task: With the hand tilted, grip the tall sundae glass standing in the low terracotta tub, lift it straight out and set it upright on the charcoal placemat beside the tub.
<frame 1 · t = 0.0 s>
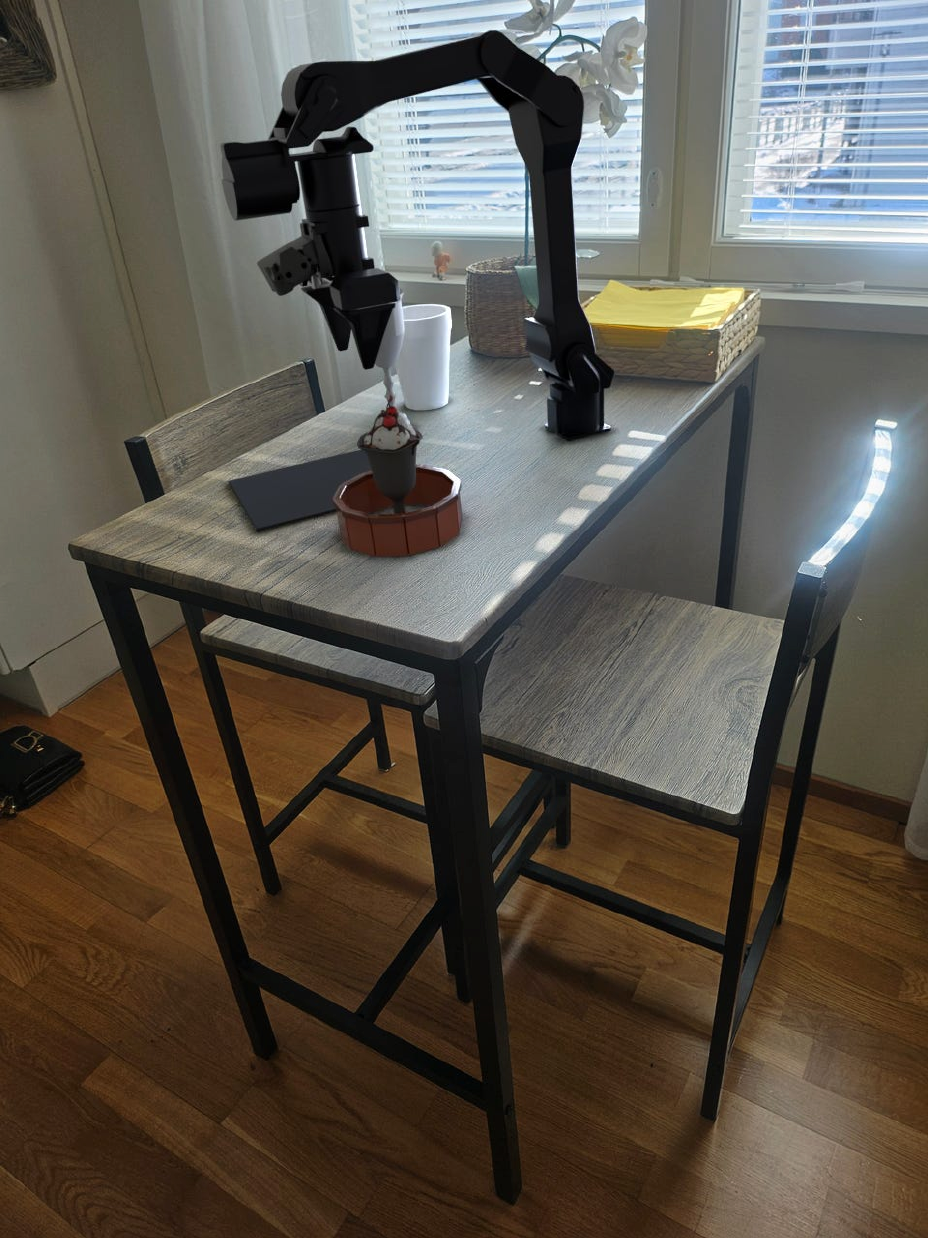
hand: (355, 359, 98), 15 cm above the table, tool pointing down, fingers open, 9 cm apart
placemat: (324, 486, 106), on the table
sundae: (402, 529, 94), resting in serving tub
serving tub: (402, 528, 94), on the table
foam cup: (427, 404, 129), on the table
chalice: (395, 431, 121), on the table
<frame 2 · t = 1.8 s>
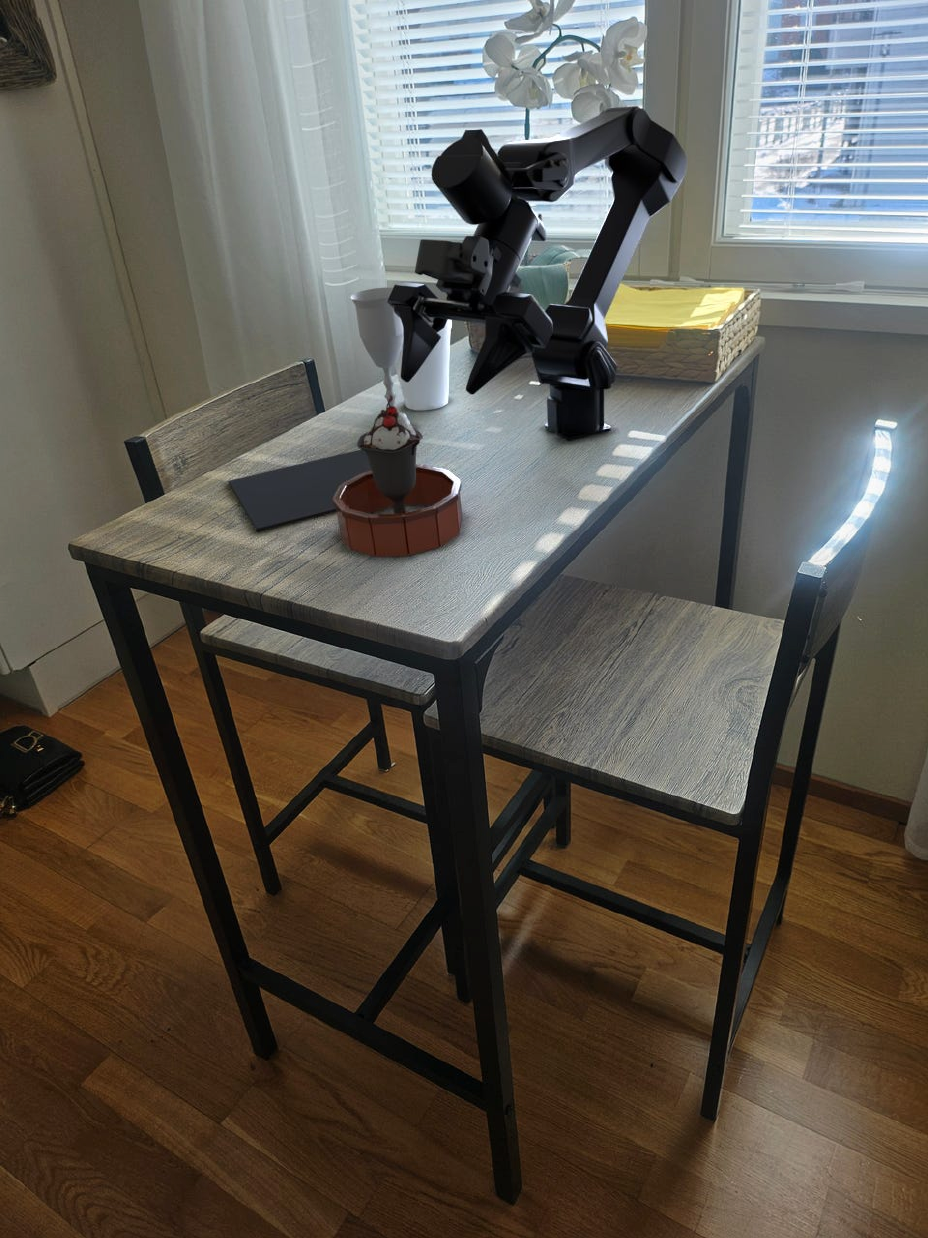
hand: (435, 386, 92), 13 cm above the table, tool tilted 45°, fingers open, 9 cm apart
nothing on the table moved.
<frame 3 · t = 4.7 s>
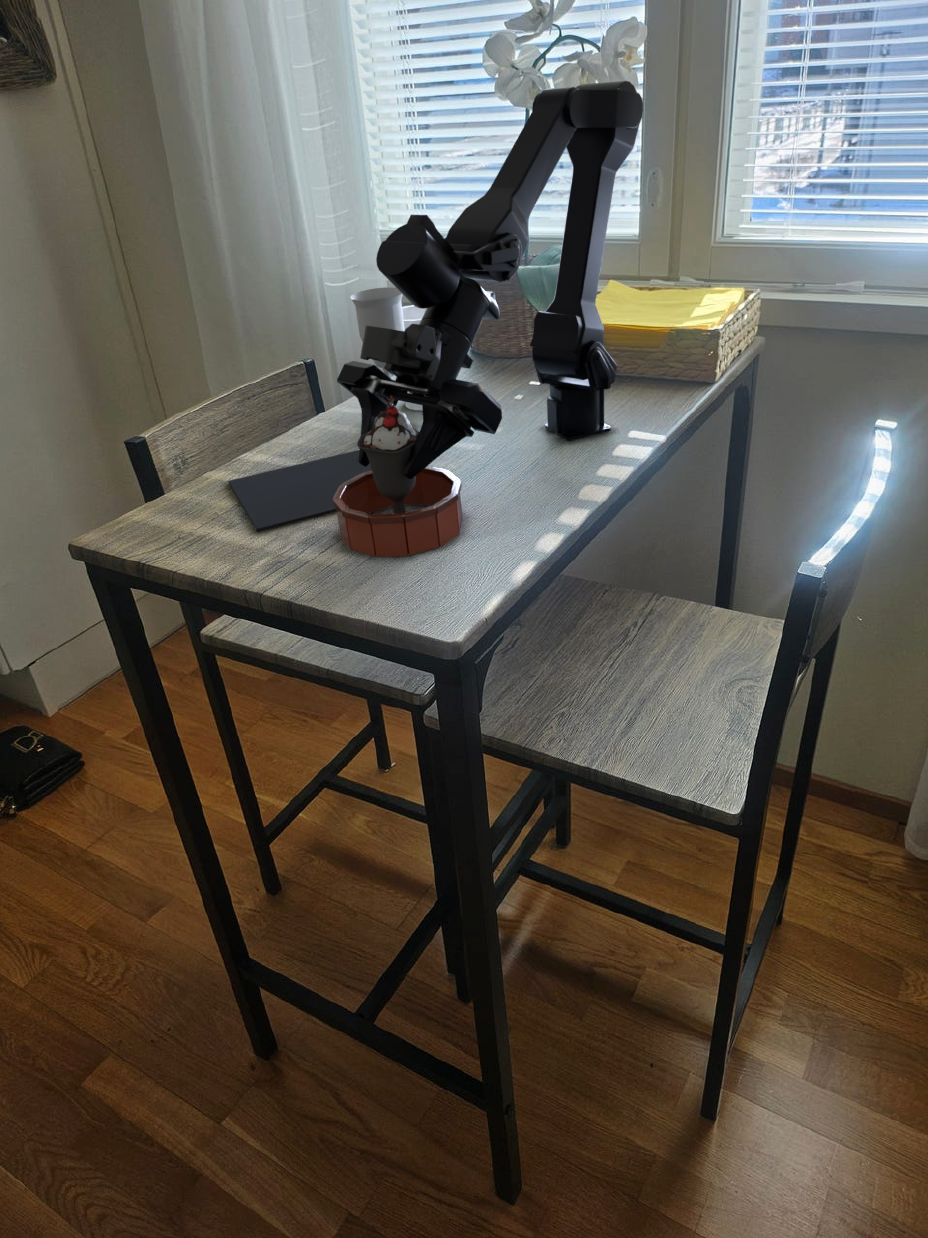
hand: (384, 470, 90), 7 cm above the table, tool tilted 45°, fingers closed on sundae, 6 cm apart
sundae: (402, 529, 94), resting in serving tub, touching gripper
everything else where it was.
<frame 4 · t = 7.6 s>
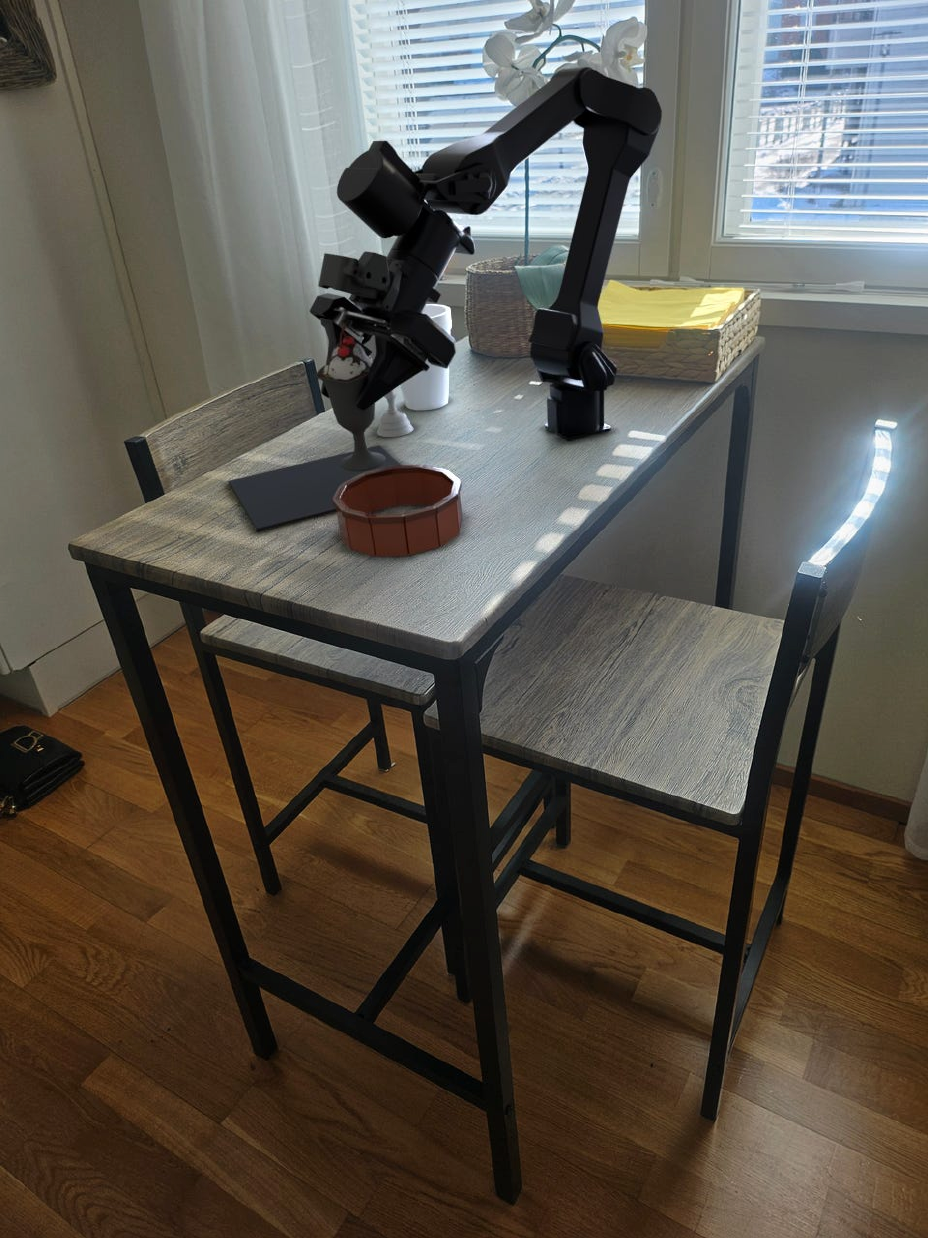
hand: (341, 401, 90), 13 cm above the table, tool tilted 45°, fingers closed on sundae, 6 cm apart
sundae: (363, 464, 95), point 6 cm above the table, touching gripper
everything else where it was.
when the fingers open (8 cm above the table, at t = 10.9 s): sundae stays where it is, resting on placemat.
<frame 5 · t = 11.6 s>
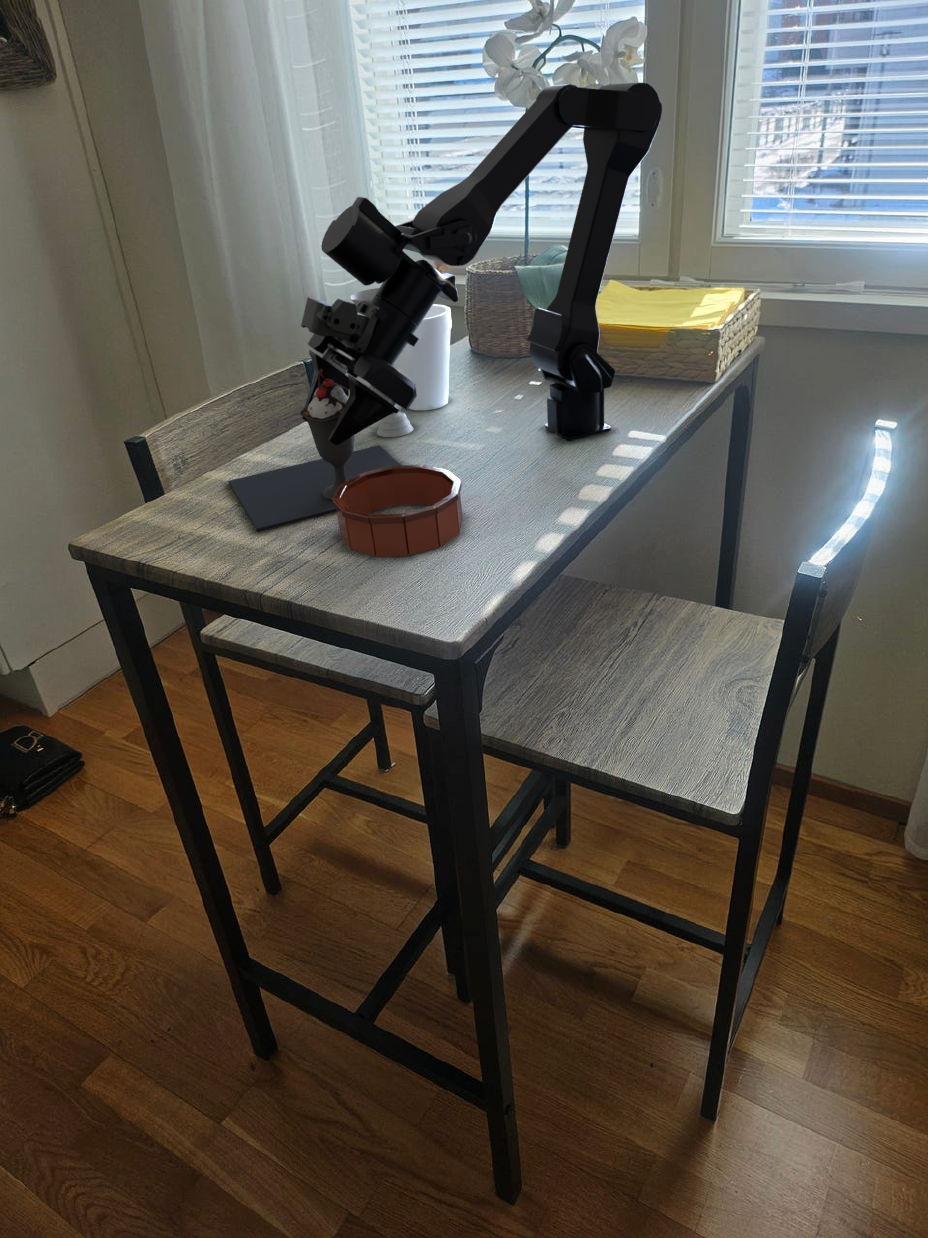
hand: (318, 431, 98), 8 cm above the table, tool tilted 45°, fingers open, 9 cm apart
sundae: (343, 493, 103), resting on placemat
everything else where it was.
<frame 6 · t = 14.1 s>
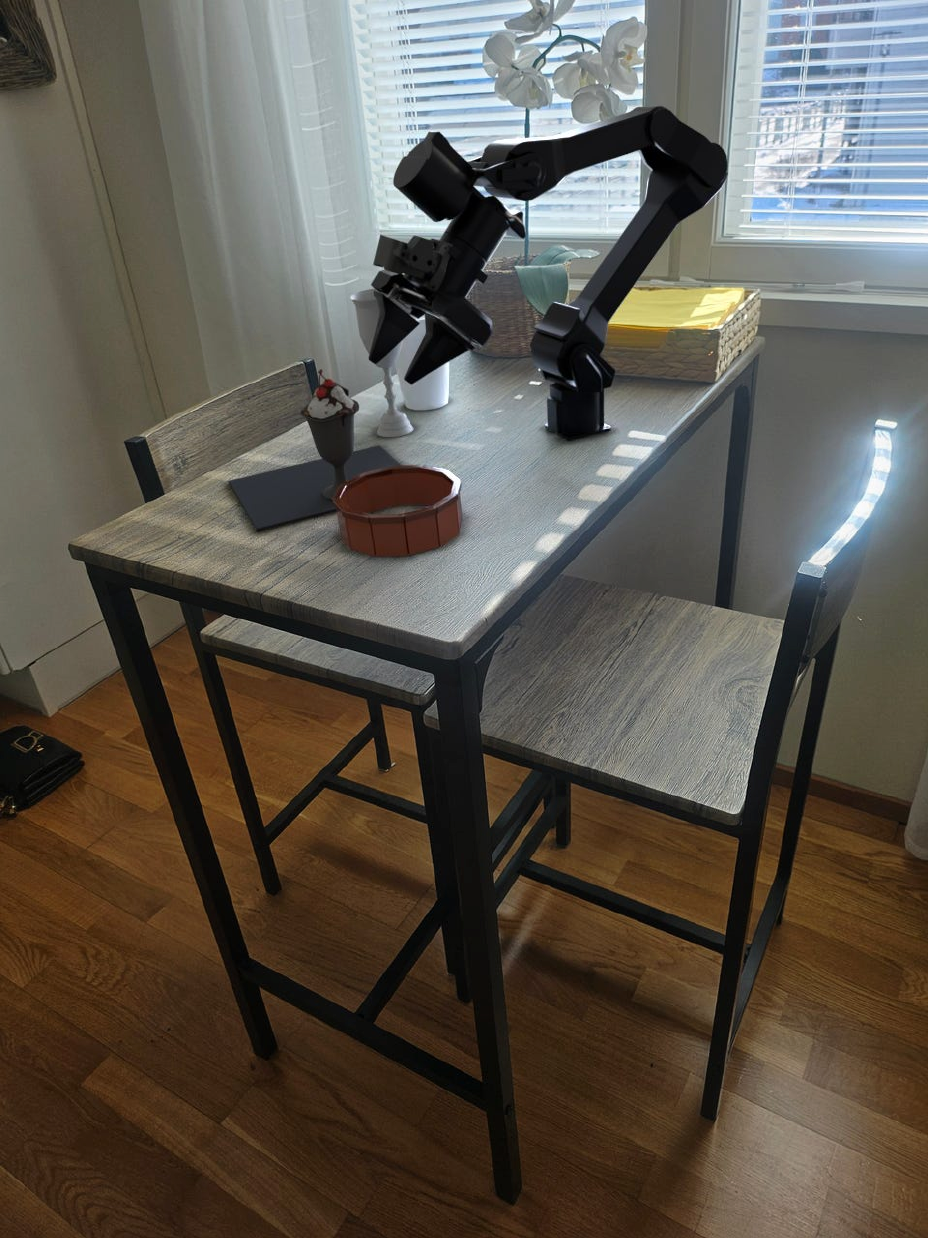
hand: (389, 371, 99), 13 cm above the table, tool tilted 45°, fingers open, 9 cm apart
nothing on the table moved.
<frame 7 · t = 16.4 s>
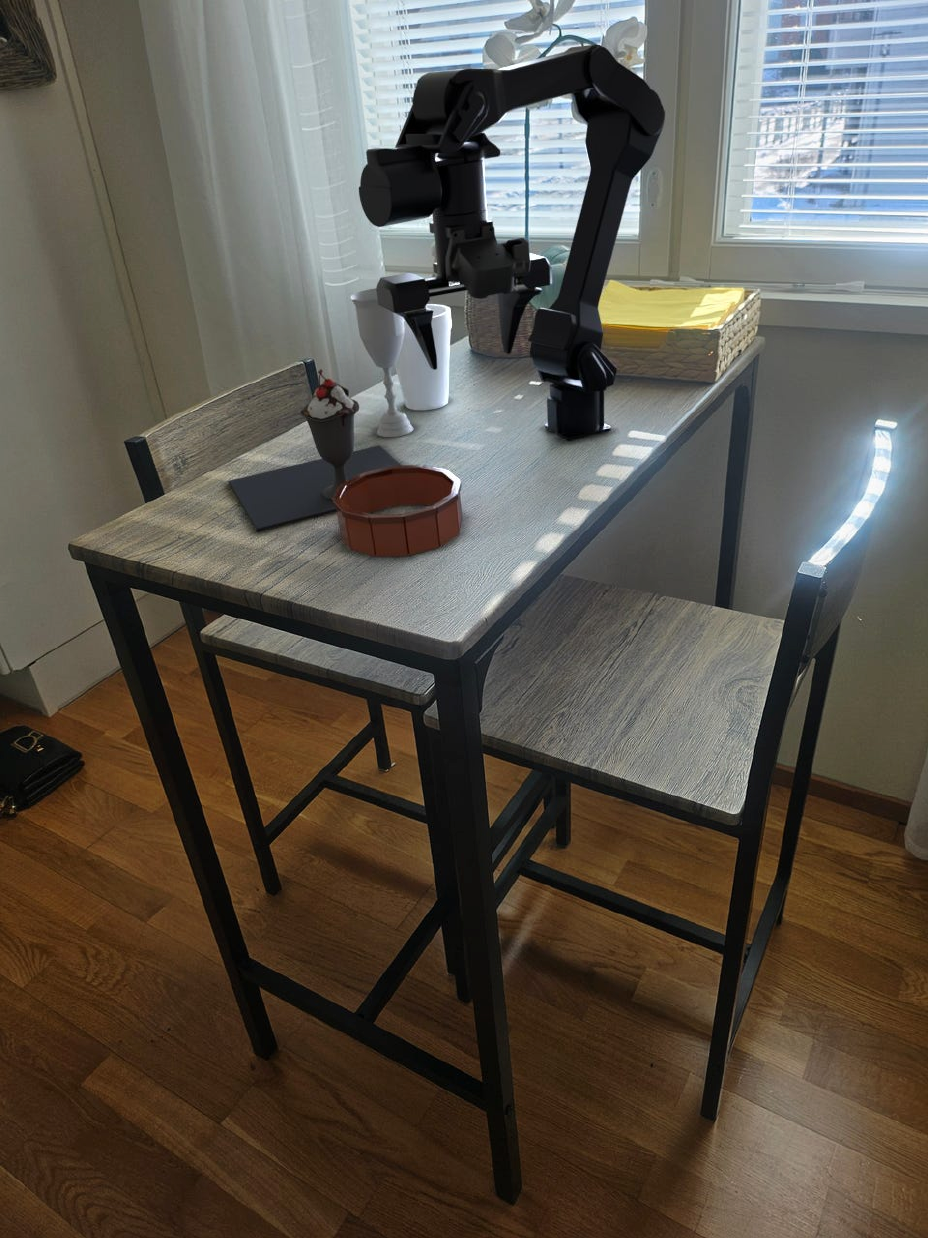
hand: (471, 360, 100), 13 cm above the table, tool pointing down, fingers open, 9 cm apart
nothing on the table moved.
at the end: sundae inside the target area on the placemat (4.2 cm from its centre), point 0.2 cm above the placemat's base; sundae tilted 0°; the gripper is holding nothing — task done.
